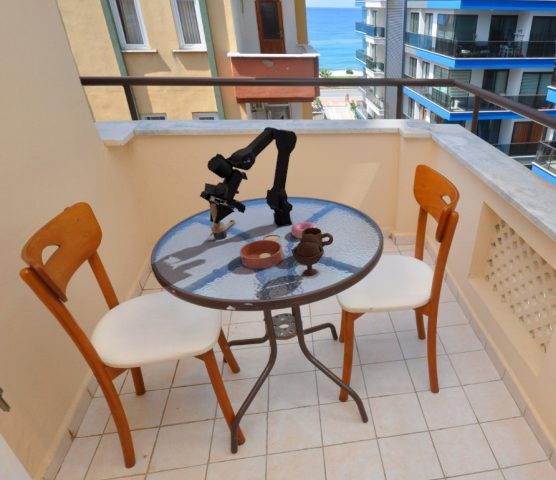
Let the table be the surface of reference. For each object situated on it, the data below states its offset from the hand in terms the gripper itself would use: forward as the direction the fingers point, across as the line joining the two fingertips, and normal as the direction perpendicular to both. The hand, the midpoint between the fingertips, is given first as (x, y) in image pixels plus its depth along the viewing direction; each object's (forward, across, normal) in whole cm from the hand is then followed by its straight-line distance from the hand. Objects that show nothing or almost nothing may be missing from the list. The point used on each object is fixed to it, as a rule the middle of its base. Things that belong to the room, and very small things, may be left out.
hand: (213, 222), depth 153 cm
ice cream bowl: (+4, +38, +15) cm, 41 cm away
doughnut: (-12, +16, +31) cm, 37 cm away
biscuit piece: (+5, +17, +14) cm, 23 cm away
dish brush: (+4, 0, +6) cm, 7 cm away
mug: (-5, +32, +24) cm, 40 cm away
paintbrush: (0, -15, +19) cm, 24 cm away
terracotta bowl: (+5, +16, +14) cm, 22 cm away
